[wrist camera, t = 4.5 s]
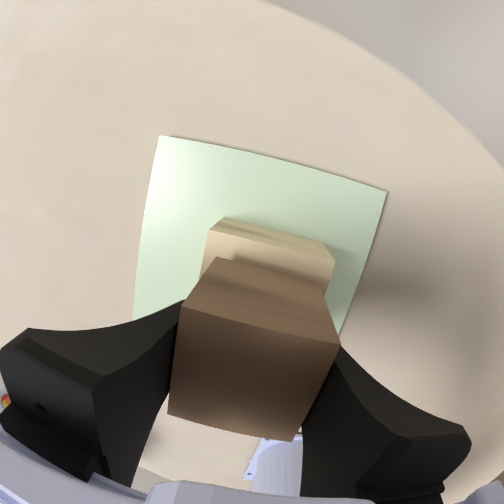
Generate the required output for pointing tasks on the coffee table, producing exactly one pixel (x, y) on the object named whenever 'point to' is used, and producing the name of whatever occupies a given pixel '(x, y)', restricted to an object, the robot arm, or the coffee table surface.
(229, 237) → the maple base brick
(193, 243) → the plate
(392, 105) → the coffee table surface
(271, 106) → the coffee table surface
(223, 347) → the walnut brick
